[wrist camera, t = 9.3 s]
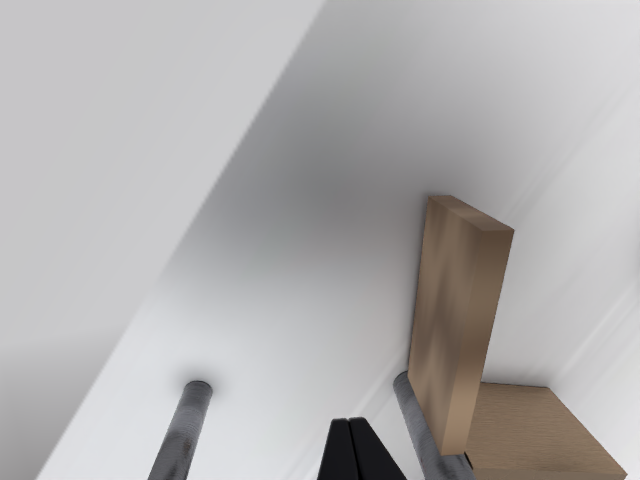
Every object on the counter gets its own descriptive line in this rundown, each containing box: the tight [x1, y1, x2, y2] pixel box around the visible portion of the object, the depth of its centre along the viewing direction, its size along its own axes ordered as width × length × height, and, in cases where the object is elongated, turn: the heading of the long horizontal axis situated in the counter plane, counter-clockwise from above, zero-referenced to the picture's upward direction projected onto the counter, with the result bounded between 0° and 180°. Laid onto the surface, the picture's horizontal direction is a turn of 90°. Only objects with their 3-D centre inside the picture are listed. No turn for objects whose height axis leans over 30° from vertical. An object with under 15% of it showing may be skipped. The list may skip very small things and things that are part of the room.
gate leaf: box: [407, 195, 514, 456], centre depth 16 cm, size 12×1×5 cm, turn 1°
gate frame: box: [148, 371, 628, 480], centre depth 19 cm, size 26×4×7 cm, turn 81°
